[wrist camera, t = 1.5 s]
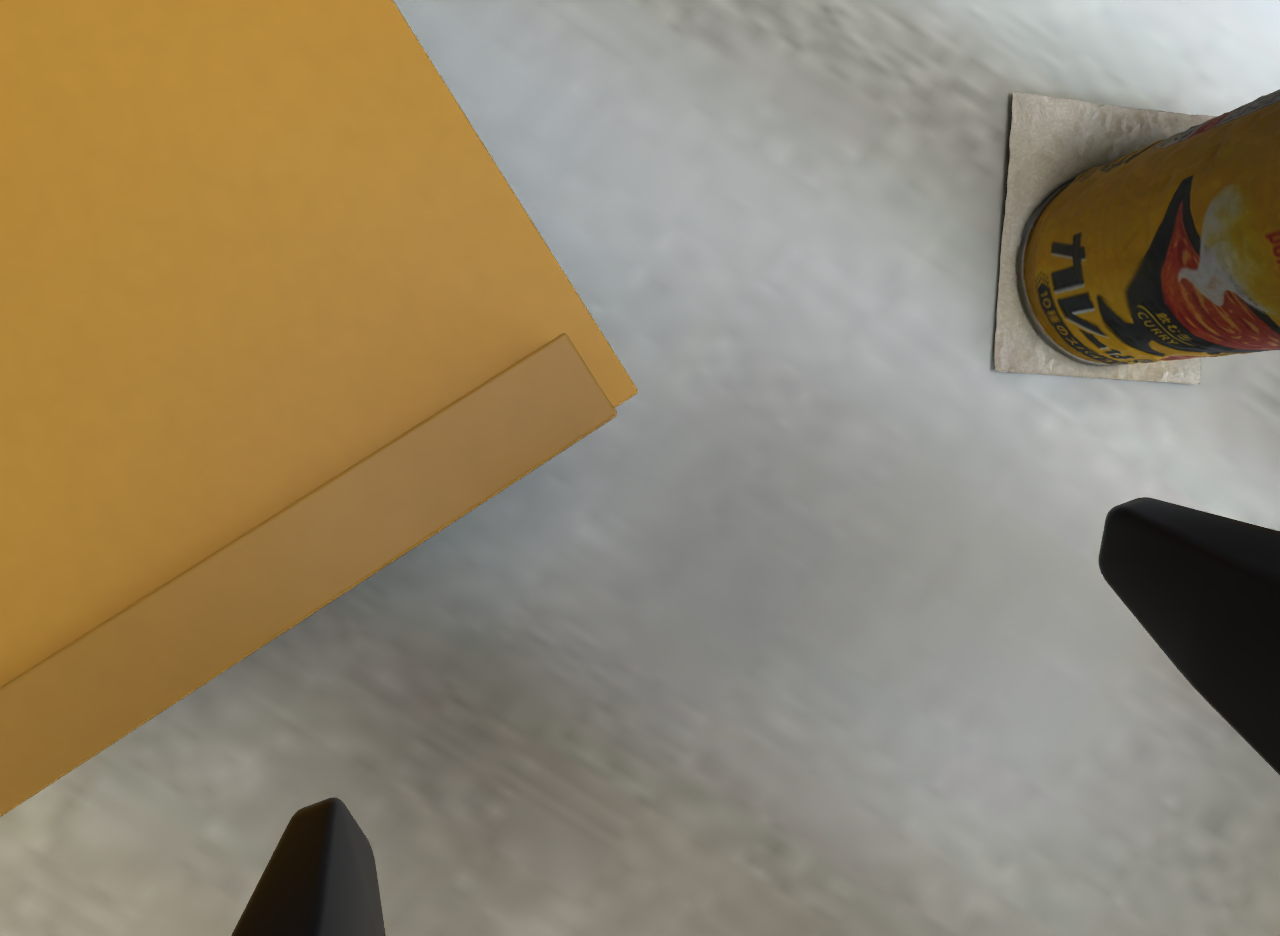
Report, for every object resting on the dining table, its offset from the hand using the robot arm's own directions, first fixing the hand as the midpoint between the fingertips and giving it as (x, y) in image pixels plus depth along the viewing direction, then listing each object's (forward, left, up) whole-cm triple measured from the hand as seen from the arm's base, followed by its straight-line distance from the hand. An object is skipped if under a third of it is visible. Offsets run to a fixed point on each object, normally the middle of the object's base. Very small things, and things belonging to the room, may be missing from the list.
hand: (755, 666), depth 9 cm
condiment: (+11, -15, -15) cm, 23 cm away
